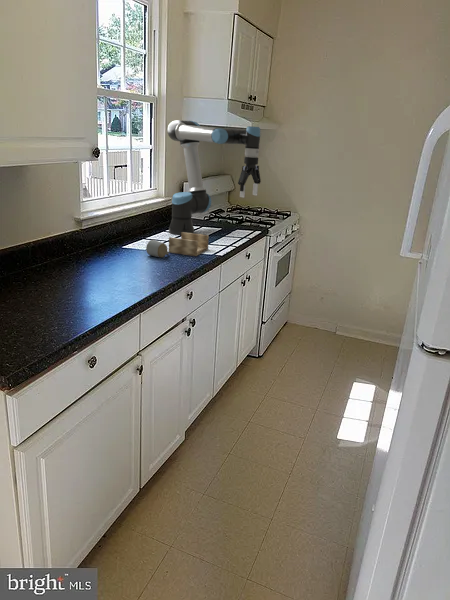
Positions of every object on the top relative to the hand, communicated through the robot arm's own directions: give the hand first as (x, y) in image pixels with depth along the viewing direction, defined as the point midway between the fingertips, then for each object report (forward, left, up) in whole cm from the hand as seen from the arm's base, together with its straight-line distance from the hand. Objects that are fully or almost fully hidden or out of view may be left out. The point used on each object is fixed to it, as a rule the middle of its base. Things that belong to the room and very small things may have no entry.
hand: (248, 196), depth 270 cm
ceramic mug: (-28, -55, -26) cm, 67 cm away
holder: (-19, -38, -26) cm, 50 cm away
